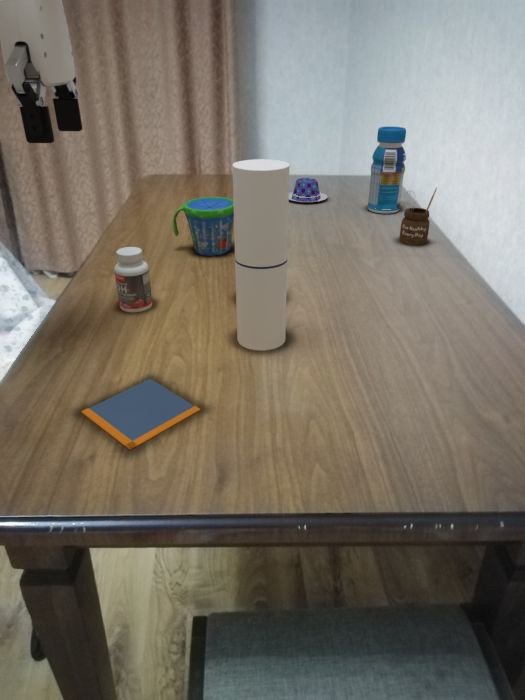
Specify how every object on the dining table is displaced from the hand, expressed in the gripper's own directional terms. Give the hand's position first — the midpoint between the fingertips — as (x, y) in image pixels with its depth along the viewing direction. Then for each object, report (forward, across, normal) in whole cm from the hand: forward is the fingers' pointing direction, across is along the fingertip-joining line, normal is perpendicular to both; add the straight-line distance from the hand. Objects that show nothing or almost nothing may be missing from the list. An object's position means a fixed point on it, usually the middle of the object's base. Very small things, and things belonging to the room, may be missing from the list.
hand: (56, 136), depth 69 cm
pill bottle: (+28, -8, +5) cm, 30 cm away
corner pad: (+28, +21, +13) cm, 37 cm away
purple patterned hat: (+28, -80, +34) cm, 92 cm away
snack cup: (+28, -36, +14) cm, 48 cm away
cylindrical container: (+28, +2, +26) cm, 38 cm away
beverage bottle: (+28, -70, +54) cm, 93 cm away
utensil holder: (+28, -44, +57) cm, 77 cm away
